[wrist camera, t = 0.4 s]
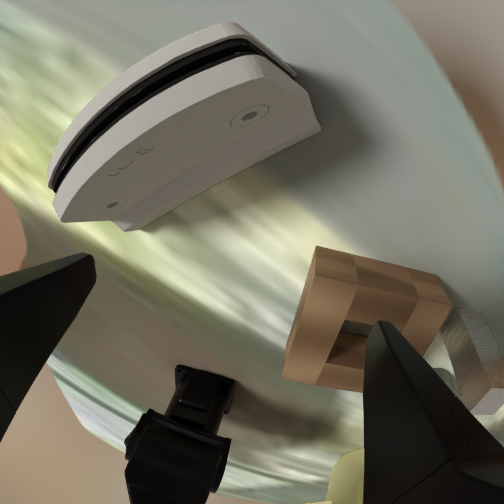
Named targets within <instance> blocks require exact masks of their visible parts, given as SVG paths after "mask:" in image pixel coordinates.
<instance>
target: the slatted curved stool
mask: <svg viewBox="0 0 504 504" xmlns="http://www.w3.org/2000/svg"><path fill="white" fill-rule="evenodd" d="M363 486H364V448H363V449H359V450H354V451H351V452H348V453H347V454H345V455H343V456H342V457H341V458H340V459H339V460H338V462H337V463H336V465H335V466H334V468H333V470H332V473H331V476H330V481H329V488H328V492H327V497H326V500H325V502H315V503H303V504H363Z"/></svg>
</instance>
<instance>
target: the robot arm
mask: <svg viewBox="0 0 504 504" xmlns="http://www.w3.org/2000/svg"><path fill="white" fill-rule="evenodd" d="M96 277H97V276H96V269H95V261H94V257H93V256H92V255H90V254H87V253H78V254H75V255H71V256H67V257H64V258H60V259H57V260H53V261H50V262H46V263H43V264H39V265H36V266H33V267H29V268H26V269H23V270H19V271H16V272H13V273H10V274H6V275H3V276H0V442H1V440H2V438H3V436H4V434H5V432H6V430H7V429H8V427H9V425H10V423H11V421H12V419H13V417H14V415H15V414H16V411H17V410H18V408H19V406H20V404H21V403H22V401H23V399H24V397H25V396H26V394H27V392H28V390H29V389H30V387H31V385H32V384H33V382H34V380H35V379H36V377H37V376H38V374H39V372H40V371H41V369H42V367H43V366H44V364H45V363H46V361H47V359H48V358H49V356H50V355H51V353H52V352H53V350H54V349H55V347H56V346H57V344H58V343H59V341H60V340H61V338H62V337H63V335H64V334H65V332H66V331H67V329H68V328H69V326H70V325H71V323H72V322H73V320H74V319H75V317H76V316H77V314H78V312H79V311H80V309H81V307H82V305H83V303H84V302H85V300H86V298H87V296H88V295H89V293H90V291H91V290H92V288H93V286H94V285H95V282H96ZM175 384H176V391H175V393H174V395H173V397H172V399H171V401H170V403H169V406H168V408H167V410H166V412H165V414H164V415H162V414H160V413H158V412H155V410H153V409H150V408H149V410H148V412H147V413H143V414H142V416H141V418H140V420H139V422H138V424H137V425H136V427H135V428H134V429H133V430H132V432H131V433H130V434H129V435H128V436H127V438H126V439H125V441H124V444H125V446H126V455H125V459H126V460H128V461H129V462H128V464H127V467H126V469H125V479H126V484H127V489H128V494H129V499H130V503H131V504H205V503H206V501H207V498H208V496H209V493H210V492H211V493H215V492H216V491H217V489H218V487H219V485H220V483H221V480H222V477H223V474H224V471H225V467H226V463H227V458H228V453H229V449H230V444H231V439H230V438H224V437H221V436H218V435H217V432H218V429H219V426H220V423H221V420H222V417H223V414H228V413H229V411H230V407H231V402H232V397H233V392H234V387H235V382H234V381H233V380H230V379H226V378H223V377H219V376H215V375H212V374H208V373H205V372H201V371H198V370H194V369H191V368H188V367H185V366H181V365H177V366H176V368H175ZM363 409H364V486H363V504H504V447H503V446H502V445H501V444H500V443H499V442H498V441H497V440H496V439H495V438H494V437H493V436H492V435H491V434H490V433H489V432H488V431H487V430H486V429H485V428H484V426H483V425H482V424H481V423H480V422H479V421H478V420H477V419H476V418H475V417H474V416H473V415H472V414H471V412H470V411H469V410H468V409H467V408H466V407H465V406H464V404H463V403H462V402H461V401H460V400H459V398H458V397H457V396H455V394H454V393H453V391H452V390H451V389H450V388H449V387H448V386H447V384H446V383H445V382H444V381H443V380H442V379H441V378H440V376H439V375H438V374H437V373H436V372H435V371H434V370H433V368H432V367H431V366H430V365H429V364H428V363H427V362H426V360H425V359H424V358H423V357H422V356H421V355H420V354H419V353H418V352H417V350H416V349H415V348H414V347H413V346H412V345H411V344H410V343H409V342H408V340H407V339H406V338H405V337H404V336H403V335H402V334H401V333H400V332H399V331H398V330H397V328H396V327H395V326H394V325H393V324H392V323H391V322H389V321H384V320H377V321H376V322H375V324H374V326H373V328H372V331H371V333H370V335H369V337H368V339H367V342H366V346H365V364H364V380H363Z"/></svg>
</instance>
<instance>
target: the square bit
mask: <svg viewBox="0 0 504 504" xmlns="http://www.w3.org/2000/svg"><path fill="white" fill-rule="evenodd" d="M441 335H442V338H443V340H444V343H445V346H446V349H447V351H448V354H449V357H450V360H451V363H452V366H453V369H454V372H455V375H456V378H457V381H458V385H459V388H460V391H461V395H462V398H463V402H464V405H465V407H466V408H467V409H468V410H469V411H470V412H471V414H472V415H491V414H495V412H496V411H497V410H498V409H499V408H500V407H501V406H502V405H503V404H504V357H503V355H502V353H501V351H500V349H499V347H498V345H497V343H496V341H495V339H494V337H493V335H492V333H491V331H490V329H489V327H488V325H487V324H486V322H485V320H484V318H483V316H482V314H481V313H478V312H473V311H468V310H464V309H459V308H456V310H455V312H454V314H453V315H452V317H451V319H450V320H449V322H448V324H447V326H446V327H445V329H444V331H443V332H442V334H441Z"/></svg>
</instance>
